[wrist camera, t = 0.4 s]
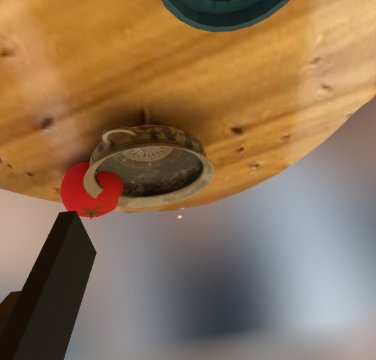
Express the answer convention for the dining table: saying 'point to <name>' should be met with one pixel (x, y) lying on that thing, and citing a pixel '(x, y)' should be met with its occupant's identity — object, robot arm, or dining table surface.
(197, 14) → the glazed bowl
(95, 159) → the ceramic bowl
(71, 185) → the tomato
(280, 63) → the dining table surface
